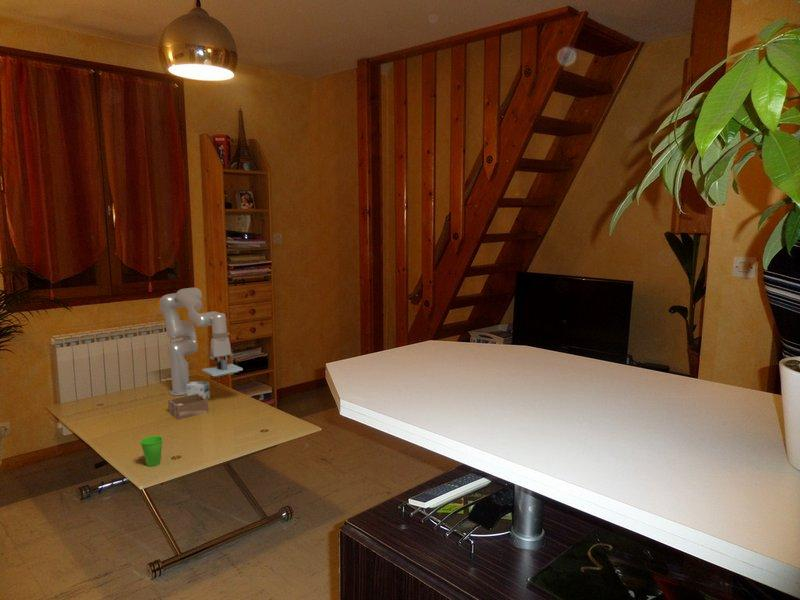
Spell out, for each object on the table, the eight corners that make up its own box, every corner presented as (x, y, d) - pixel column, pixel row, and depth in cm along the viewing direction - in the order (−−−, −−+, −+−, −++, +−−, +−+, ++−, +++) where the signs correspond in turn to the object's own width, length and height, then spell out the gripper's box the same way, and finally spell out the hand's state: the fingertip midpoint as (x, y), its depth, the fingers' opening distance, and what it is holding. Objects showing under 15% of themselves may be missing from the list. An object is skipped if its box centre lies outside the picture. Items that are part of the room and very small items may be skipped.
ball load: (173, 412, 294) (173, 403, 293) (183, 410, 297) (182, 401, 296) (177, 414, 290) (176, 405, 289) (186, 412, 293) (185, 403, 293)
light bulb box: (210, 399, 318) (209, 381, 316) (205, 403, 311) (203, 384, 310) (192, 399, 319) (191, 381, 317) (187, 402, 312) (185, 384, 311)
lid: (202, 373, 304) (201, 360, 303) (231, 367, 315) (230, 354, 314) (212, 378, 293) (211, 365, 292) (243, 372, 304) (242, 359, 303)
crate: (169, 414, 294) (168, 400, 293) (199, 407, 304) (198, 393, 303) (178, 421, 283) (177, 406, 282) (208, 414, 294) (207, 399, 292)
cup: (137, 466, 232) (134, 442, 230) (154, 458, 240) (152, 434, 238) (152, 470, 228) (150, 445, 227) (169, 461, 236) (167, 437, 235)
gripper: (231, 332, 309) (233, 364, 312) (202, 336, 299) (205, 369, 302) (236, 334, 304) (238, 366, 306) (208, 338, 293) (210, 372, 296)
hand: (222, 368), depth 304 cm, fingers closed on lid, 2 cm apart
